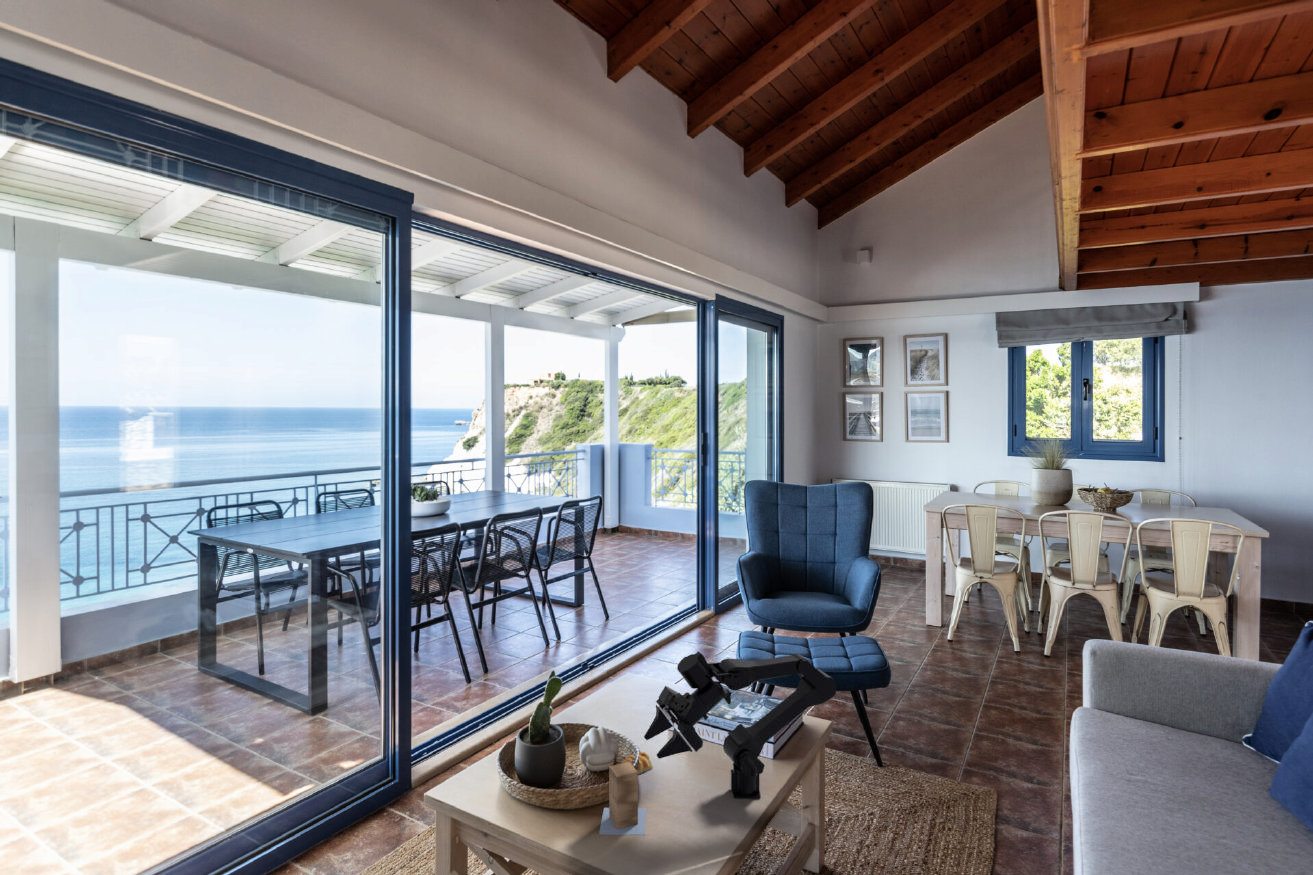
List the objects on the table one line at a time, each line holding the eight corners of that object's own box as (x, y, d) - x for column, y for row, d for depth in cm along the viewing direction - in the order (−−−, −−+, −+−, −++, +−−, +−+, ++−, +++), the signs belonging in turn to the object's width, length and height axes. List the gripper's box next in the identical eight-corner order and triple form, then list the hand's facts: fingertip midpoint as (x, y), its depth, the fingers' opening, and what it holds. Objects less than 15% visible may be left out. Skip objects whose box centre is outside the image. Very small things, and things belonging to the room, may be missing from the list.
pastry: (626, 783, 175) (625, 768, 174) (610, 772, 180) (610, 758, 180) (654, 770, 181) (654, 756, 180) (638, 760, 186) (638, 746, 186)
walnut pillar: (629, 812, 161) (629, 761, 160) (637, 824, 156) (637, 772, 156) (609, 817, 159) (609, 766, 158) (617, 829, 154) (617, 776, 154)
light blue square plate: (646, 810, 162) (646, 808, 162) (644, 836, 152) (644, 834, 152) (604, 809, 163) (604, 807, 163) (599, 836, 153) (599, 833, 153)
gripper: (669, 663, 173) (620, 706, 169) (698, 692, 155) (644, 741, 151) (693, 695, 175) (646, 738, 172) (724, 727, 158) (672, 776, 154)
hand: (651, 747), depth 162 cm, fingers open, 9 cm apart
